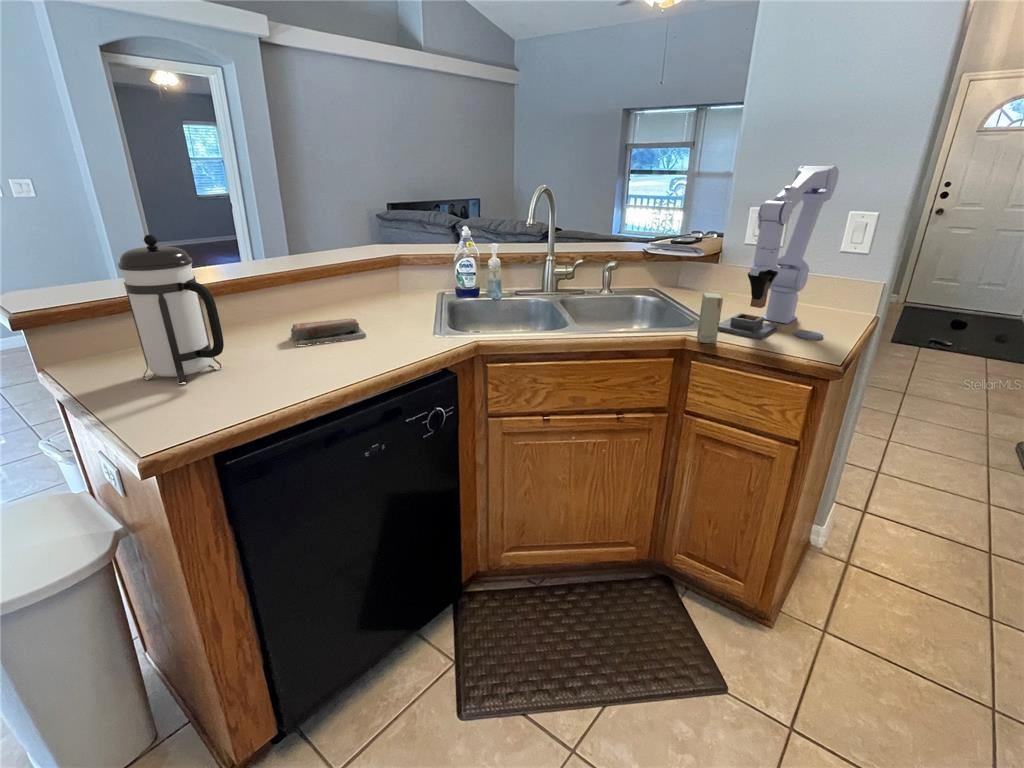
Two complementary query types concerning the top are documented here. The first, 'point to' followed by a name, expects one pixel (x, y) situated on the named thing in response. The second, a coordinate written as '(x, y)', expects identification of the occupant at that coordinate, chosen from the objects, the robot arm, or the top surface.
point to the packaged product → (326, 331)
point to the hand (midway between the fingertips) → (758, 297)
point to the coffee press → (170, 310)
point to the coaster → (809, 335)
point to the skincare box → (709, 317)
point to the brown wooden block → (762, 301)
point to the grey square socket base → (747, 326)
